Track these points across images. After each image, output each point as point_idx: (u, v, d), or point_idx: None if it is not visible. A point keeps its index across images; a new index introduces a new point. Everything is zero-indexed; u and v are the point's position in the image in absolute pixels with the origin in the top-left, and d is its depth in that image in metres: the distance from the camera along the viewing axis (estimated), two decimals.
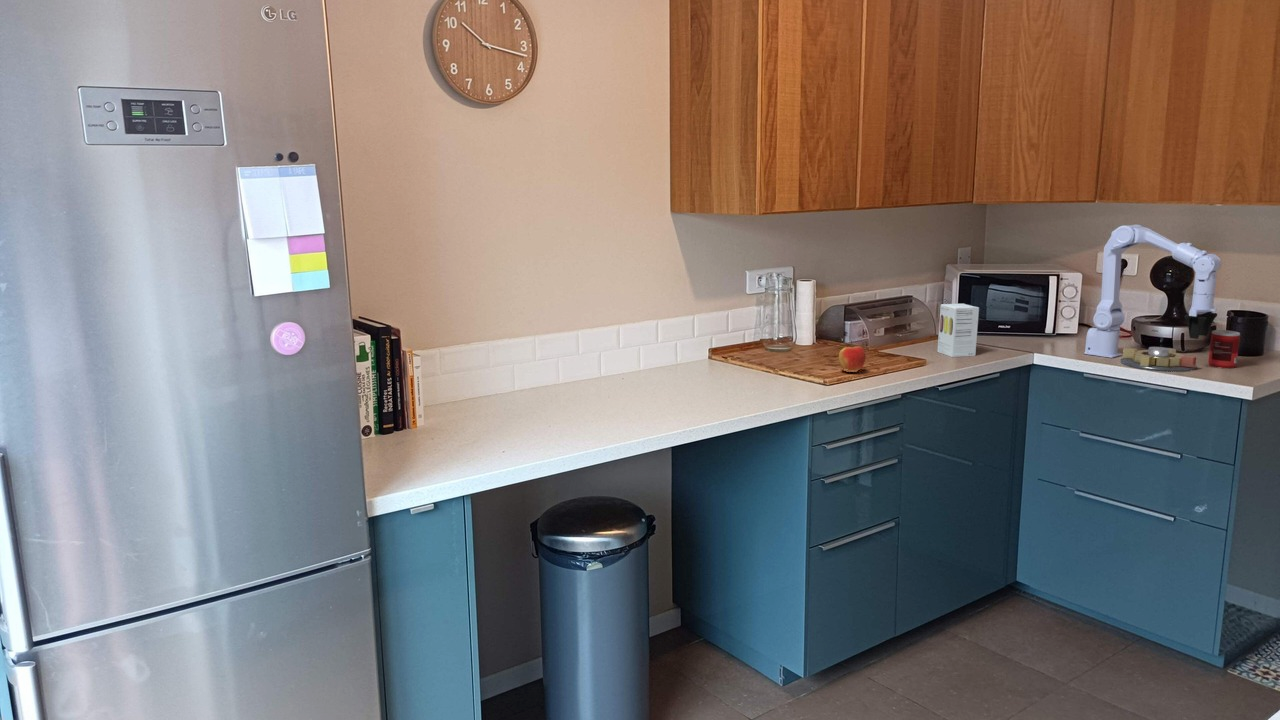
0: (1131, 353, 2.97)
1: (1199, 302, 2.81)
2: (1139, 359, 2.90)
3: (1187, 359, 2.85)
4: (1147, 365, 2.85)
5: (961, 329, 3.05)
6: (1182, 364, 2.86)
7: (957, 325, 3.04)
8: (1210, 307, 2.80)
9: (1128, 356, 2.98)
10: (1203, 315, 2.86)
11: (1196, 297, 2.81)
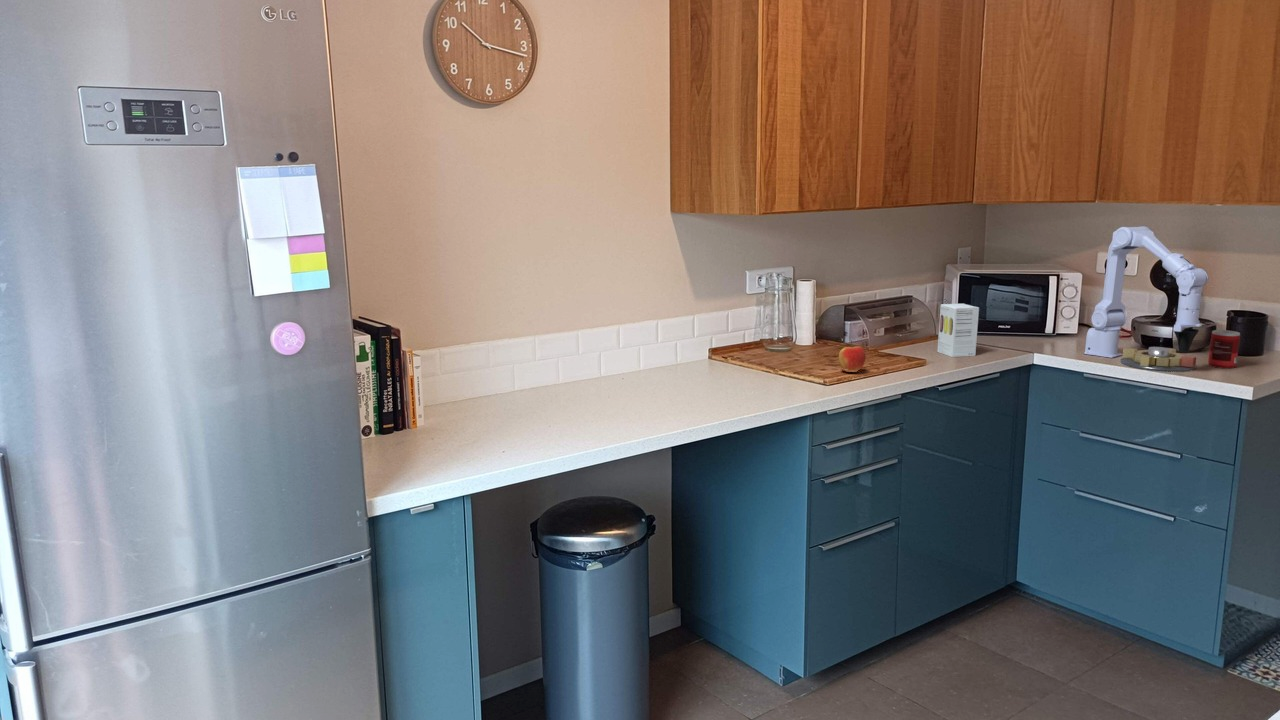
0: (1131, 353, 2.97)
1: (1184, 317, 2.77)
2: (1139, 359, 2.90)
3: (1187, 359, 2.85)
4: (1147, 365, 2.85)
5: (961, 329, 3.05)
6: (1182, 364, 2.86)
7: (957, 325, 3.04)
8: (1195, 322, 2.76)
9: (1128, 356, 2.98)
10: None
11: (1181, 312, 2.78)
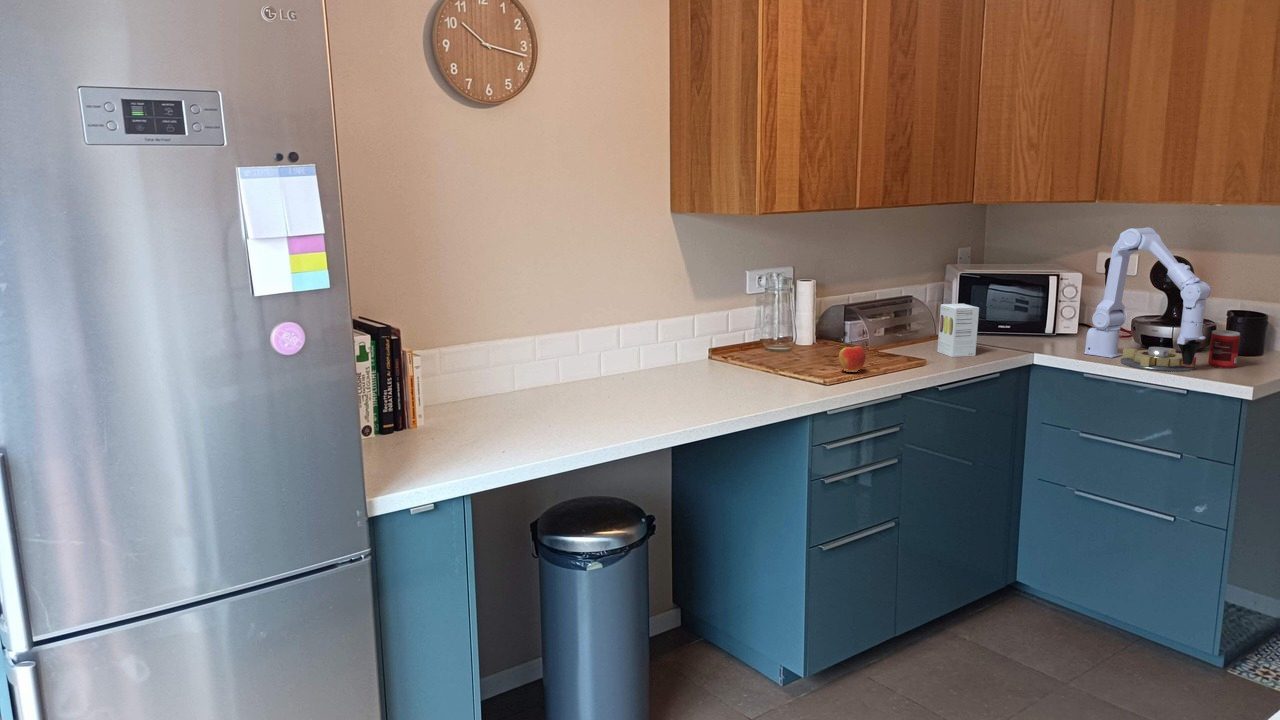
0: (1131, 353, 2.97)
1: (1187, 330, 2.81)
2: (1139, 359, 2.90)
3: None
4: (1147, 365, 2.85)
5: (961, 329, 3.05)
6: (1182, 364, 2.86)
7: (957, 325, 3.04)
8: (1198, 335, 2.80)
9: (1128, 356, 2.98)
10: None
11: (1184, 325, 2.81)
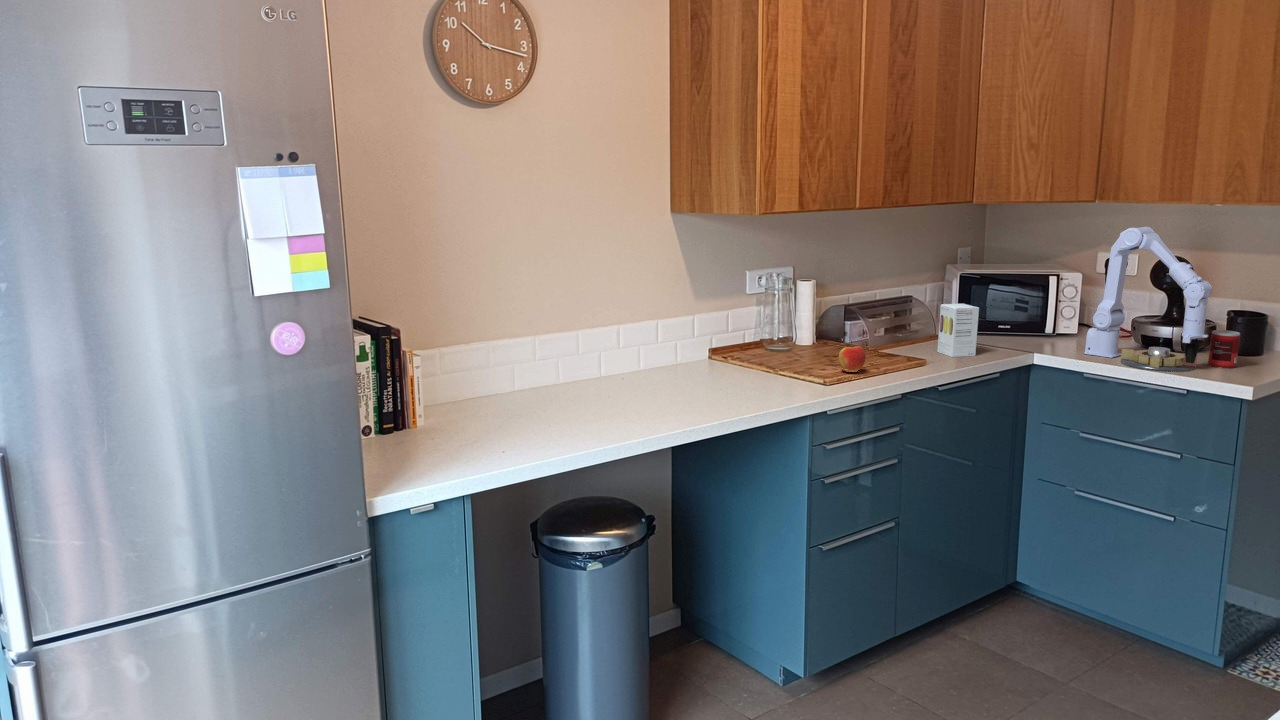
0: (1130, 354, 2.95)
1: (1191, 329, 2.82)
2: (1145, 360, 2.89)
3: None
4: (1157, 366, 2.83)
5: (961, 329, 3.05)
6: (1185, 363, 2.87)
7: (957, 325, 3.04)
8: (1202, 333, 2.82)
9: (1127, 357, 2.96)
10: (1190, 342, 2.85)
11: (1188, 323, 2.83)
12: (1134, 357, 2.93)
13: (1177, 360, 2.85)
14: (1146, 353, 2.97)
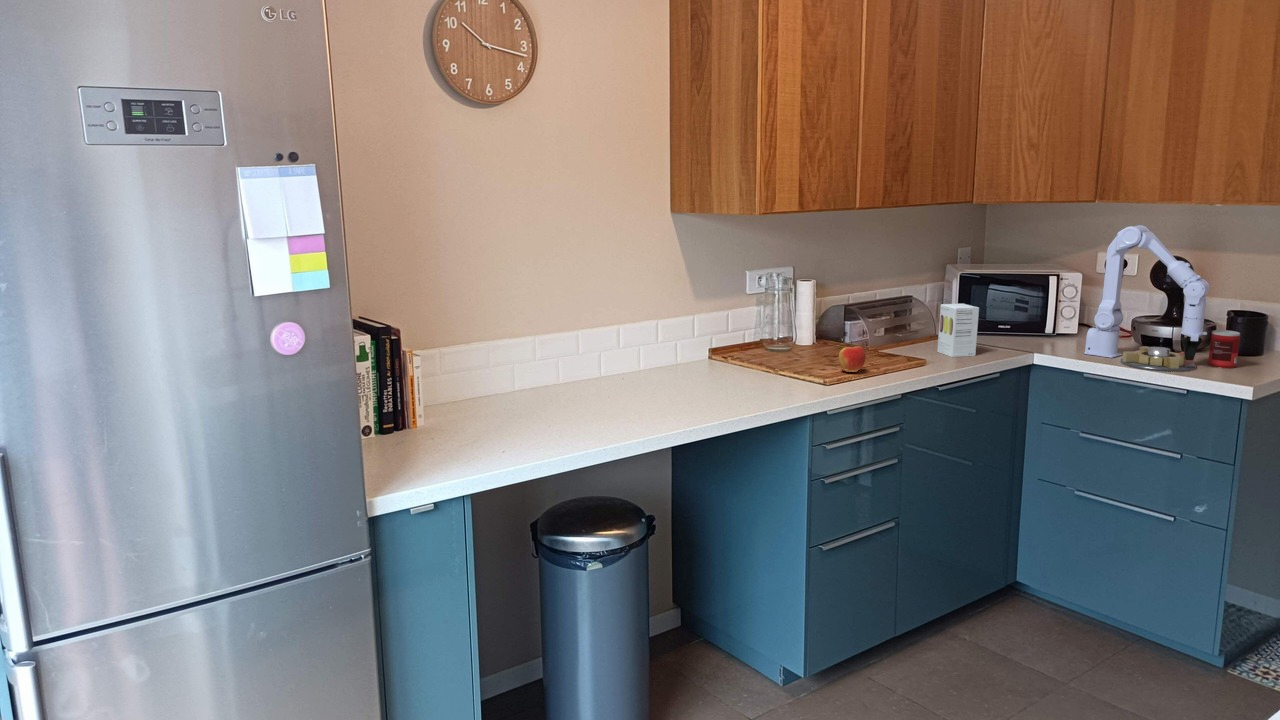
0: (1135, 357, 2.91)
1: (1193, 327, 2.86)
2: (1158, 362, 2.86)
3: None
4: (1177, 367, 2.82)
5: (961, 329, 3.05)
6: (1184, 361, 2.91)
7: (957, 325, 3.04)
8: (1202, 331, 2.86)
9: (1132, 360, 2.92)
10: None
11: (1190, 322, 2.86)
12: (1142, 359, 2.89)
13: (1184, 359, 2.87)
14: (1141, 354, 2.95)
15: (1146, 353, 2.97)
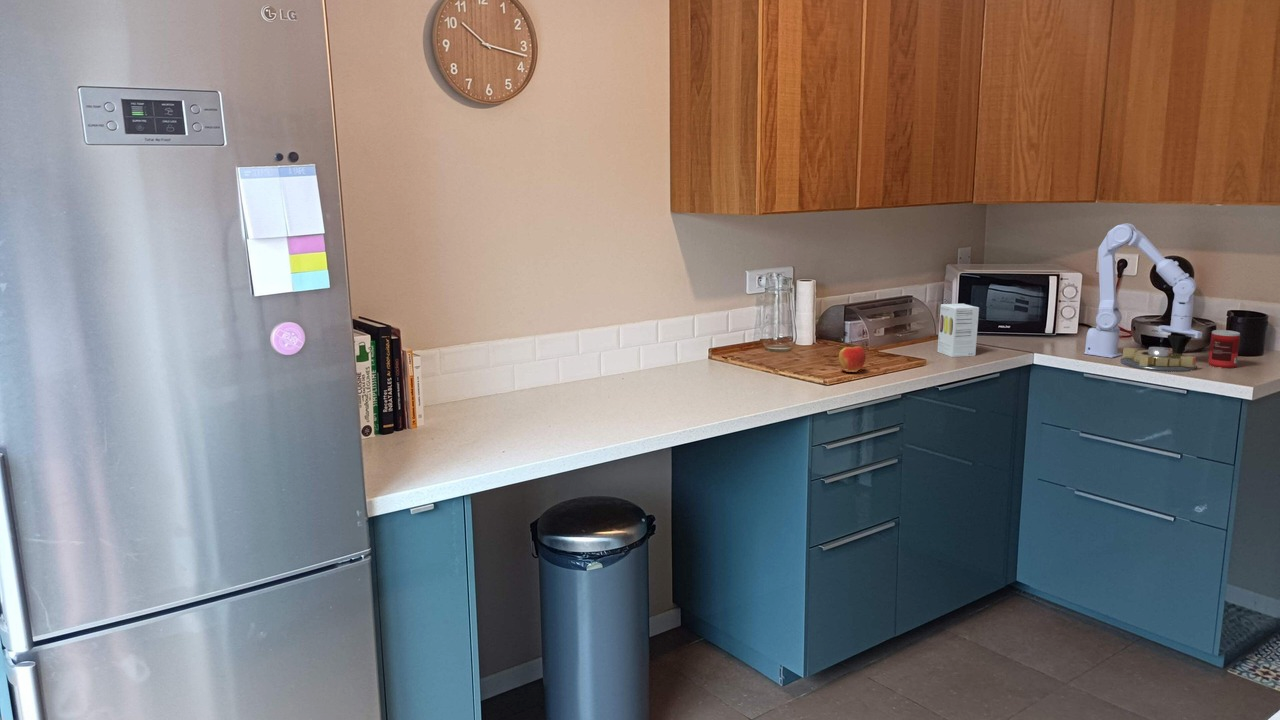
0: (1151, 360, 2.86)
1: (1188, 324, 2.91)
2: (1175, 362, 2.85)
3: None
4: (1194, 365, 2.85)
5: (961, 329, 3.05)
6: None
7: (957, 325, 3.04)
8: None
9: (1150, 364, 2.86)
10: None
11: (1186, 319, 2.90)
12: (1160, 362, 2.86)
13: None
14: None
15: None
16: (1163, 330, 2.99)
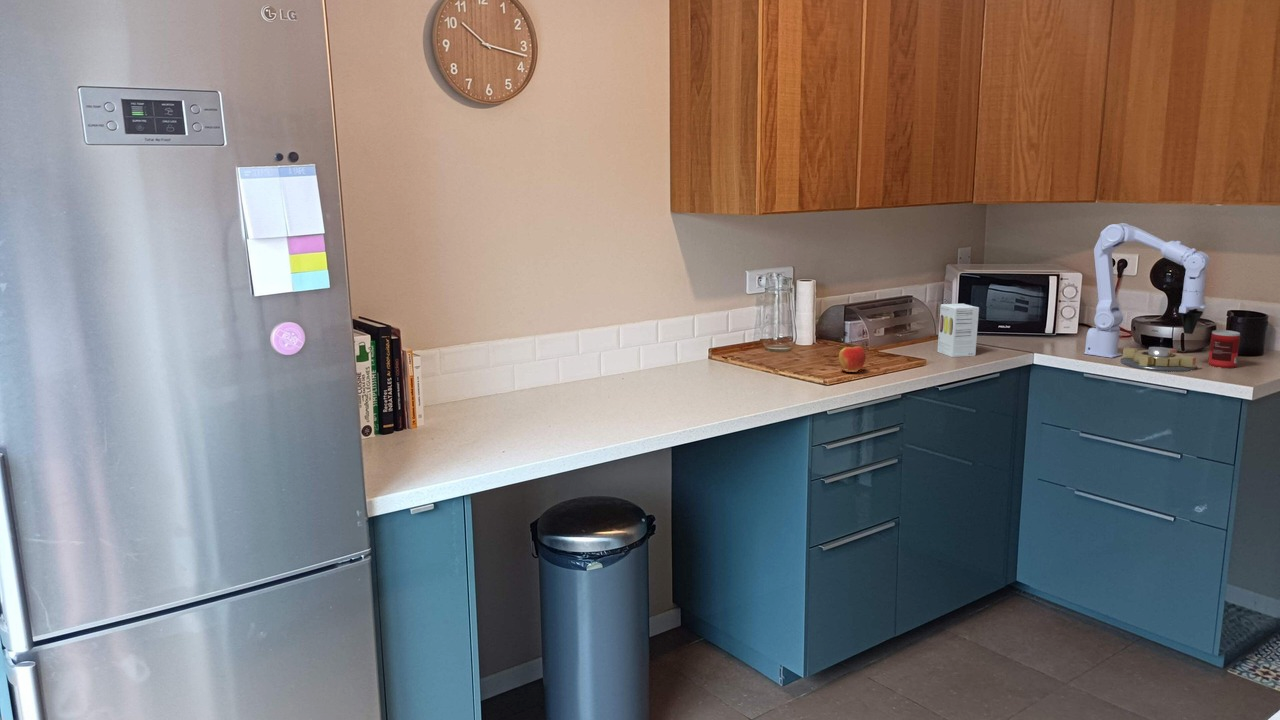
0: (1151, 360, 2.86)
1: (1189, 299, 2.85)
2: (1175, 362, 2.85)
3: (1174, 352, 2.96)
4: (1194, 365, 2.85)
5: (961, 329, 3.05)
6: None
7: (957, 325, 3.04)
8: (1200, 304, 2.85)
9: (1149, 364, 2.86)
10: None
11: (1186, 294, 2.86)
12: (1160, 362, 2.86)
13: None
14: None
15: None
16: None
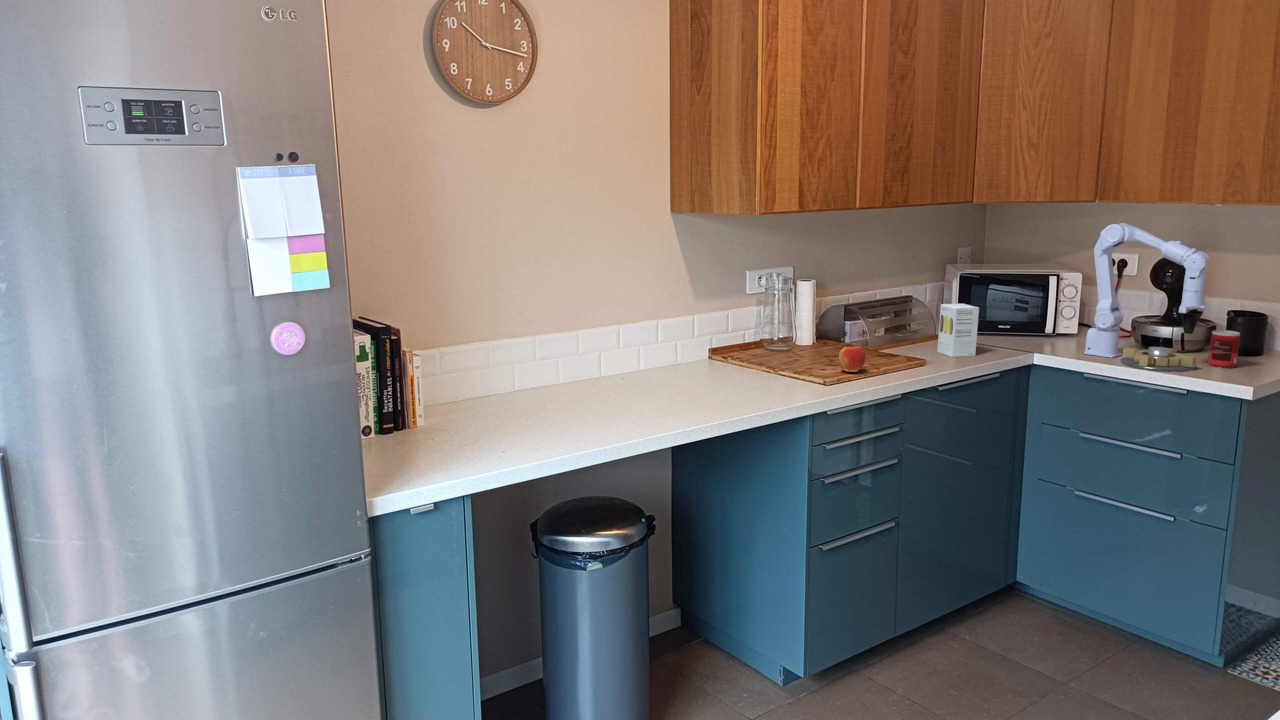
0: (1151, 360, 2.86)
1: (1189, 299, 2.85)
2: (1175, 362, 2.85)
3: (1174, 352, 2.96)
4: (1194, 365, 2.85)
5: (961, 329, 3.05)
6: None
7: (958, 325, 3.04)
8: (1200, 304, 2.85)
9: (1149, 364, 2.86)
10: None
11: (1186, 294, 2.86)
12: (1160, 362, 2.86)
13: None
14: None
15: None
16: None
